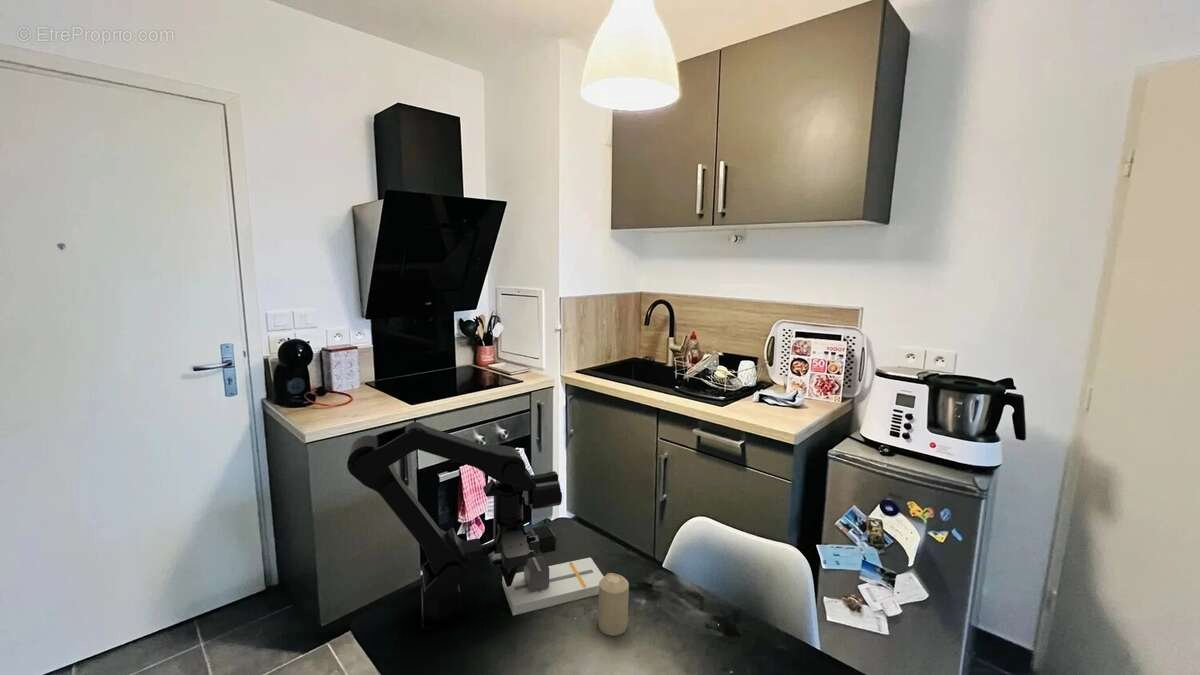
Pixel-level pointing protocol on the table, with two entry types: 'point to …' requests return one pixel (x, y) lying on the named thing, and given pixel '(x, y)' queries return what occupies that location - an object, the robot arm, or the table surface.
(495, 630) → the table surface
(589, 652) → the table surface
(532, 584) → the fader
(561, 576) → the slider track board
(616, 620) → the candle
